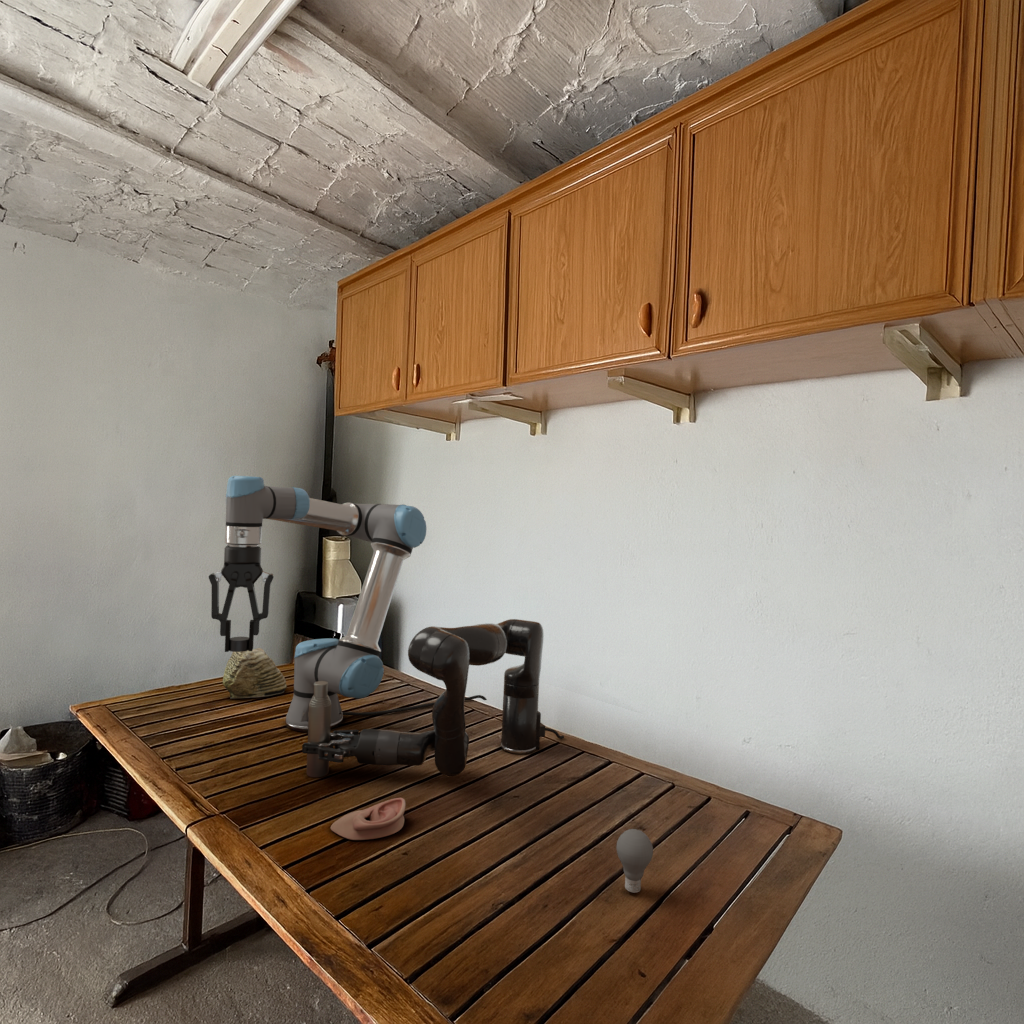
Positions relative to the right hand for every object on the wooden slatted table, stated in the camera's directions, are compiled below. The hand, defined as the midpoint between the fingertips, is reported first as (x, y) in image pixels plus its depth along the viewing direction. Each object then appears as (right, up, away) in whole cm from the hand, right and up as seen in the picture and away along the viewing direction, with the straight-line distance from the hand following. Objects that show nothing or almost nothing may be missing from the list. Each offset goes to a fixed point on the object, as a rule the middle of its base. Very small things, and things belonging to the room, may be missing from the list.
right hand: (307, 743), depth 145 cm
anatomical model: (+19, -8, -22) cm, 30 cm away
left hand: (-14, +22, -4) cm, 27 cm away
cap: (-14, +24, -4) cm, 28 cm away
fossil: (-34, -4, +53) cm, 63 cm away
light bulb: (+67, -10, -39) cm, 78 cm away
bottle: (+2, -7, 0) cm, 7 cm away
